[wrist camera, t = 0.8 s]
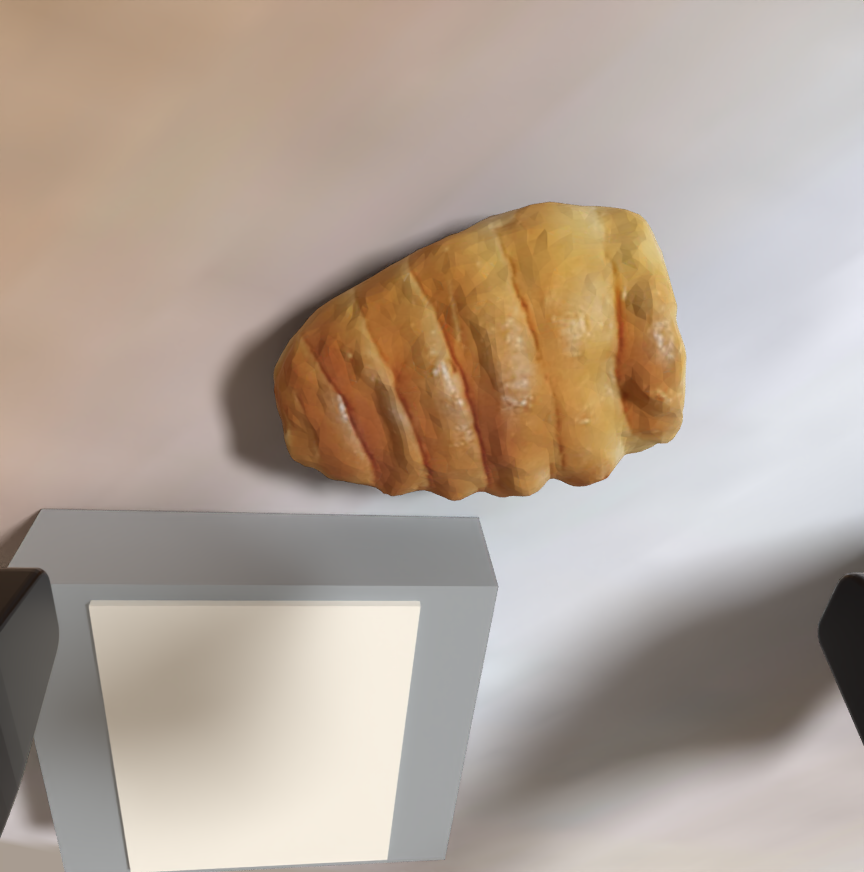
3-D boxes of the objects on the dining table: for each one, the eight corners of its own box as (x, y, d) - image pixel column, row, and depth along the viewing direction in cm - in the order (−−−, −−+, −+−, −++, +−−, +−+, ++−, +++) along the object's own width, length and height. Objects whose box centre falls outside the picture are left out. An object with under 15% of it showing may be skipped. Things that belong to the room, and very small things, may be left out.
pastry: (324, 496, 20) (321, 593, 17) (233, 270, 17) (207, 339, 14) (655, 411, 20) (715, 494, 17) (634, 160, 16) (705, 206, 13)
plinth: (478, 517, 22) (499, 591, 19) (434, 779, 27) (445, 865, 25) (41, 508, 20) (-6, 589, 17) (93, 791, 26) (64, 886, 23)
